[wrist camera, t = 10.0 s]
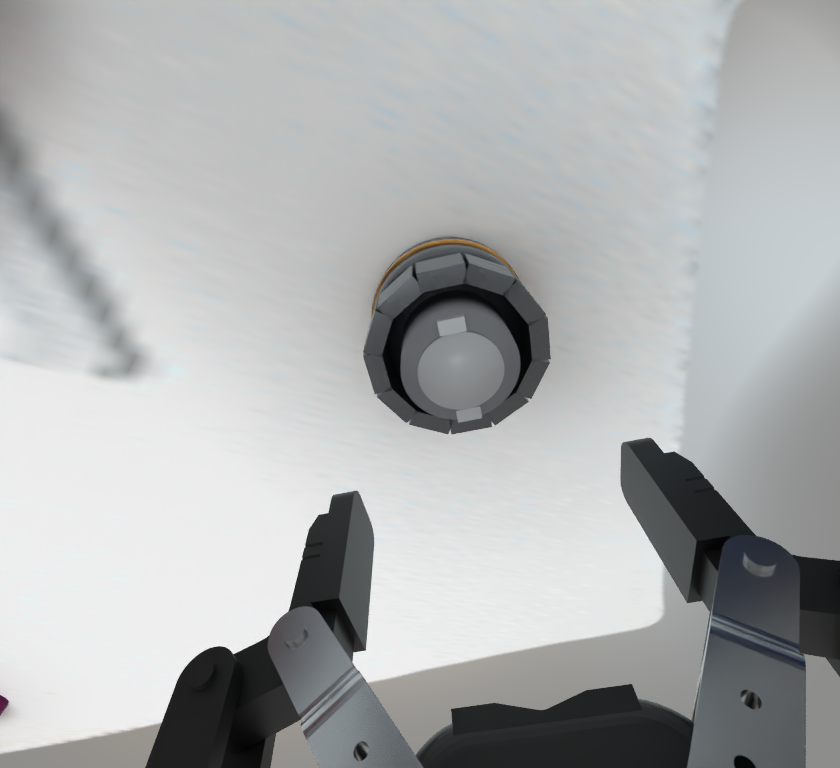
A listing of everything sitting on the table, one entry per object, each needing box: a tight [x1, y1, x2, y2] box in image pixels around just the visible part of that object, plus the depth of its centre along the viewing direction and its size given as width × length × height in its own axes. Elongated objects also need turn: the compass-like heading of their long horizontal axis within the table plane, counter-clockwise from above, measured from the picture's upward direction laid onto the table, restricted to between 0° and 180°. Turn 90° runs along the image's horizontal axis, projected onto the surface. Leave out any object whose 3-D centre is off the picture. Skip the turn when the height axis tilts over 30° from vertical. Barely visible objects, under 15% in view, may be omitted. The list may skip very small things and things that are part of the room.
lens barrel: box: [363, 237, 551, 434], centre depth 24 cm, size 9×9×6 cm
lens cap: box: [400, 290, 520, 423], centre depth 22 cm, size 6×6×4 cm
